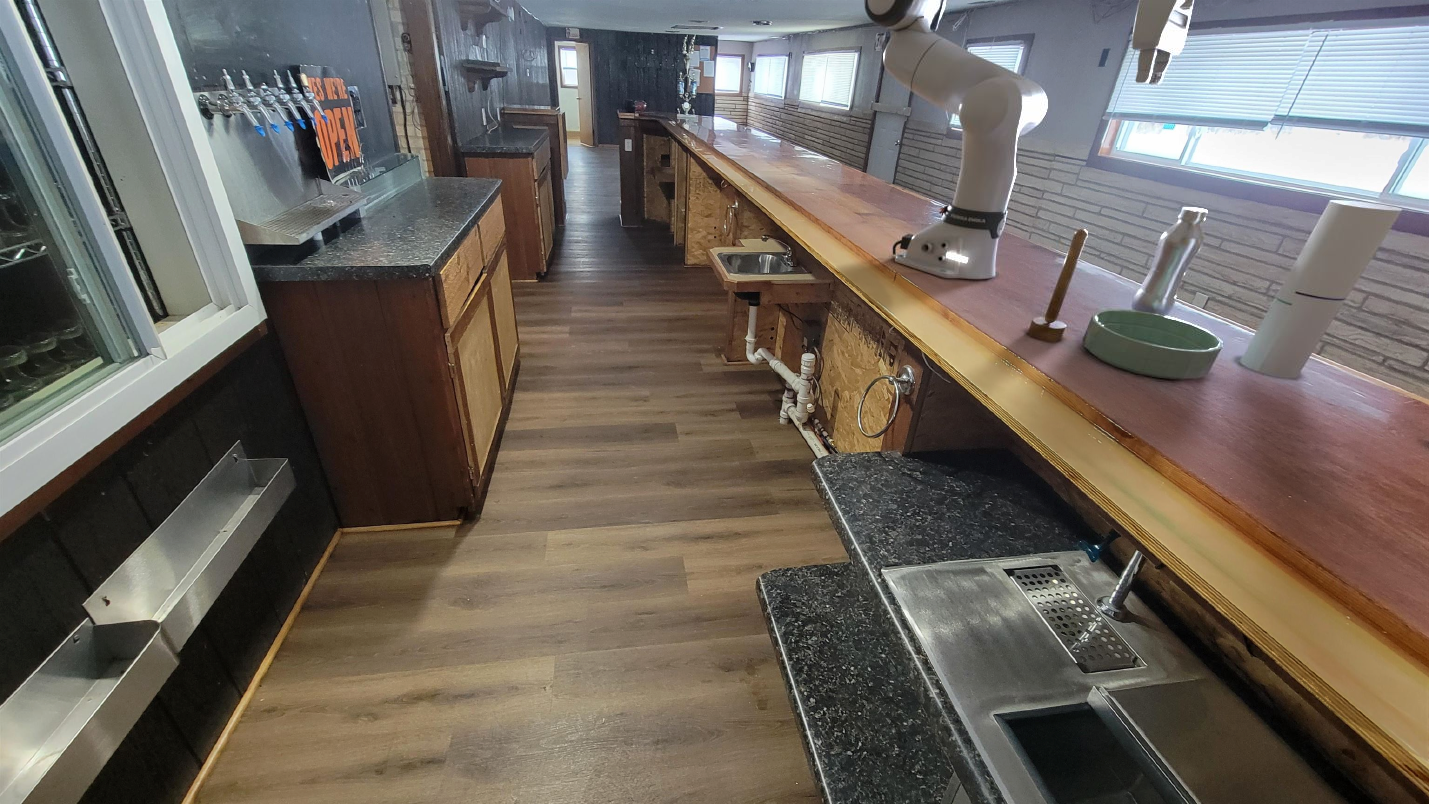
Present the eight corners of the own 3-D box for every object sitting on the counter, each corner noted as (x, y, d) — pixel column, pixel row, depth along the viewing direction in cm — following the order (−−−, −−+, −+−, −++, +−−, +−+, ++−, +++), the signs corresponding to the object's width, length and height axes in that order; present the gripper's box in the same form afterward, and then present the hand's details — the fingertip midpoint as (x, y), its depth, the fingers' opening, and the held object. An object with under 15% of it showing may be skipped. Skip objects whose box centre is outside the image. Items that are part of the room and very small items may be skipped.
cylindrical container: (1285, 381, 86) (1390, 211, 73) (1231, 362, 91) (1320, 201, 79) (1306, 373, 89) (1411, 208, 76) (1252, 355, 94) (1342, 199, 82)
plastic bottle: (1154, 311, 111) (1202, 206, 102) (1174, 324, 106) (1227, 214, 96) (1120, 309, 112) (1164, 204, 102) (1139, 321, 106) (1188, 211, 96)
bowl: (1067, 354, 91) (1078, 325, 89) (1097, 328, 102) (1108, 302, 99) (1197, 393, 81) (1213, 362, 78) (1215, 360, 92) (1230, 331, 89)
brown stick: (1023, 334, 98) (1059, 228, 89) (1034, 327, 101) (1070, 223, 92) (1055, 344, 95) (1096, 234, 86) (1065, 336, 98) (1105, 230, 89)
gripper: (1164, -3, 100) (1141, 86, 106) (1136, -19, 88) (1111, 83, 94) (1209, -9, 96) (1182, 83, 102) (1187, -27, 83) (1157, 80, 89)
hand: (1148, 83), depth 98 cm, fingers open, 8 cm apart
